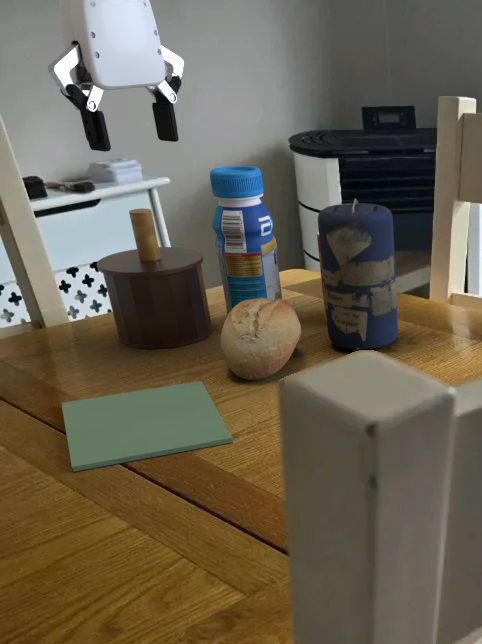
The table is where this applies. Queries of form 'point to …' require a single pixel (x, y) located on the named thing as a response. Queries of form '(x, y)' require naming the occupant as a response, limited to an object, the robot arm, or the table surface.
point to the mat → (141, 425)
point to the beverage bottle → (244, 236)
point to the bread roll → (259, 337)
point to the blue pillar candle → (358, 274)
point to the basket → (160, 309)
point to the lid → (148, 253)
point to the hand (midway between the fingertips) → (135, 145)
